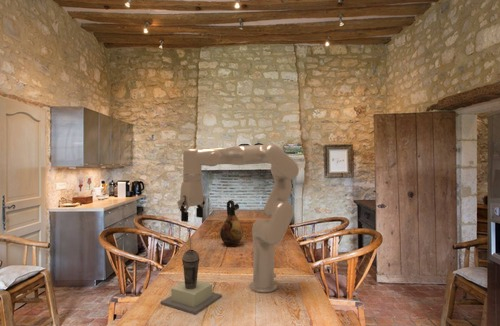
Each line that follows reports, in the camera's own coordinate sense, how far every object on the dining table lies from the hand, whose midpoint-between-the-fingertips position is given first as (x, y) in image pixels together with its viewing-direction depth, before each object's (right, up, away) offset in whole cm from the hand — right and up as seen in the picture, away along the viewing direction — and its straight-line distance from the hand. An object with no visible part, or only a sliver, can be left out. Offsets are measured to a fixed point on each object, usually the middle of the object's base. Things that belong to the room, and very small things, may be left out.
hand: (192, 219), depth 136 cm
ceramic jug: (+11, -32, +85) cm, 91 cm away
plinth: (0, -34, +1) cm, 34 cm away
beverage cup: (-1, -29, 0) cm, 28 cm away
